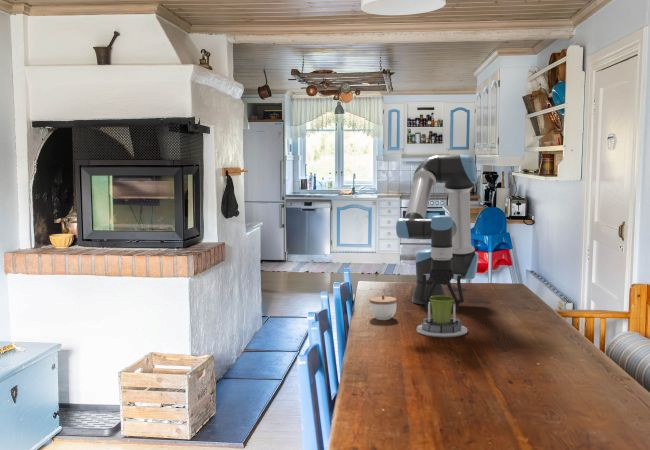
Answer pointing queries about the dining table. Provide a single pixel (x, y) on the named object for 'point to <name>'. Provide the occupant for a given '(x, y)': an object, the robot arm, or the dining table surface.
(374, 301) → the lidded jar
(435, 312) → the plant pot
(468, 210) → the robot arm
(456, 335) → the hub
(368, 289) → the dining table surface
